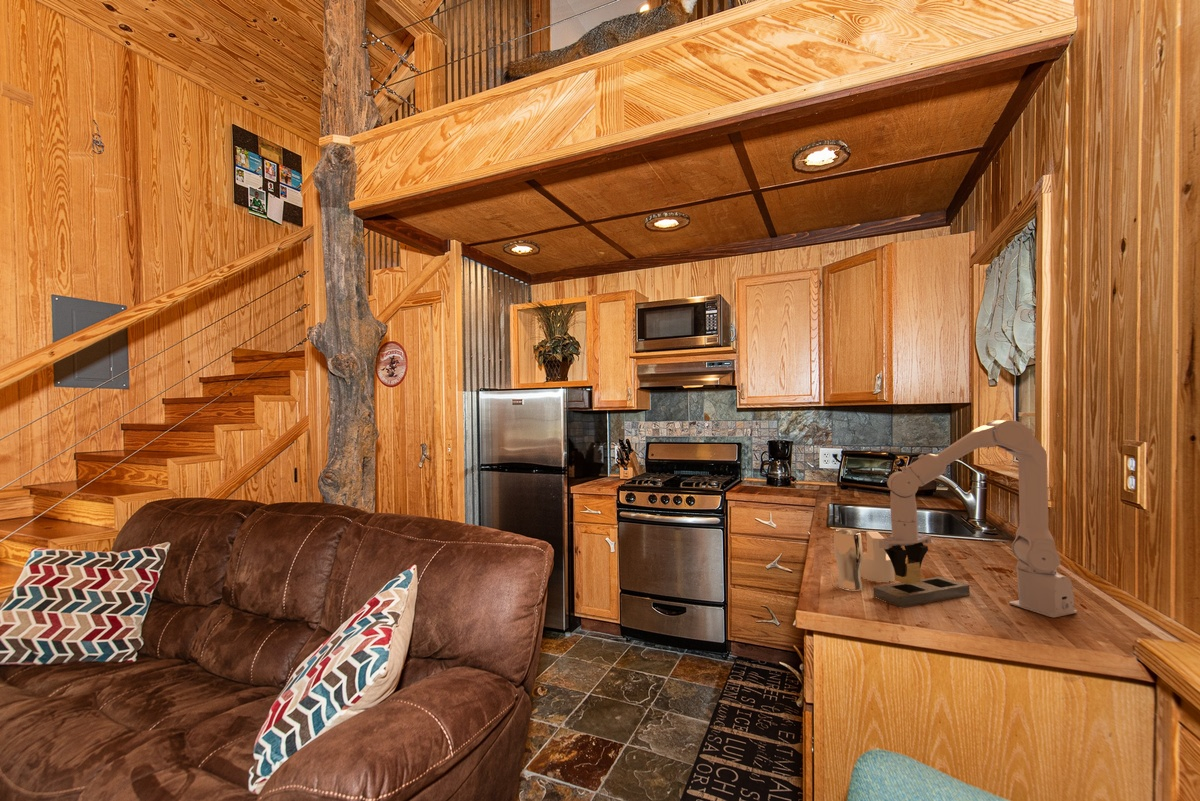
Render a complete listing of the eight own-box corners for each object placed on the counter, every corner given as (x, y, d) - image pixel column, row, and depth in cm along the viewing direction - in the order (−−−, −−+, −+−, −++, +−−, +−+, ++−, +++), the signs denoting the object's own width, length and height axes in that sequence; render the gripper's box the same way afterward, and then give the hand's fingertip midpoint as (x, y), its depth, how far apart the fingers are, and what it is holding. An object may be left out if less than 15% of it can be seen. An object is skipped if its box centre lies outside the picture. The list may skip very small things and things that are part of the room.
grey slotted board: (940, 585, 139) (940, 576, 139) (969, 595, 131) (969, 585, 131) (873, 597, 132) (873, 587, 133) (900, 607, 125) (899, 597, 125)
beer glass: (830, 586, 142) (827, 530, 143) (850, 582, 145) (846, 527, 145) (850, 593, 136) (847, 535, 136) (871, 589, 138) (867, 532, 139)
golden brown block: (920, 582, 130) (919, 562, 130) (908, 584, 128) (906, 564, 129) (907, 577, 133) (905, 558, 134) (894, 579, 132) (893, 560, 132)
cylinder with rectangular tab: (899, 583, 142) (897, 538, 143) (863, 581, 145) (861, 538, 145) (891, 573, 151) (888, 531, 151) (857, 572, 153) (854, 531, 154)
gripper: (913, 514, 137) (916, 566, 137) (868, 519, 133) (871, 573, 133) (937, 519, 130) (940, 574, 130) (891, 525, 126) (894, 581, 126)
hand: (907, 574), depth 131 cm, fingers closed on golden brown block, 4 cm apart
